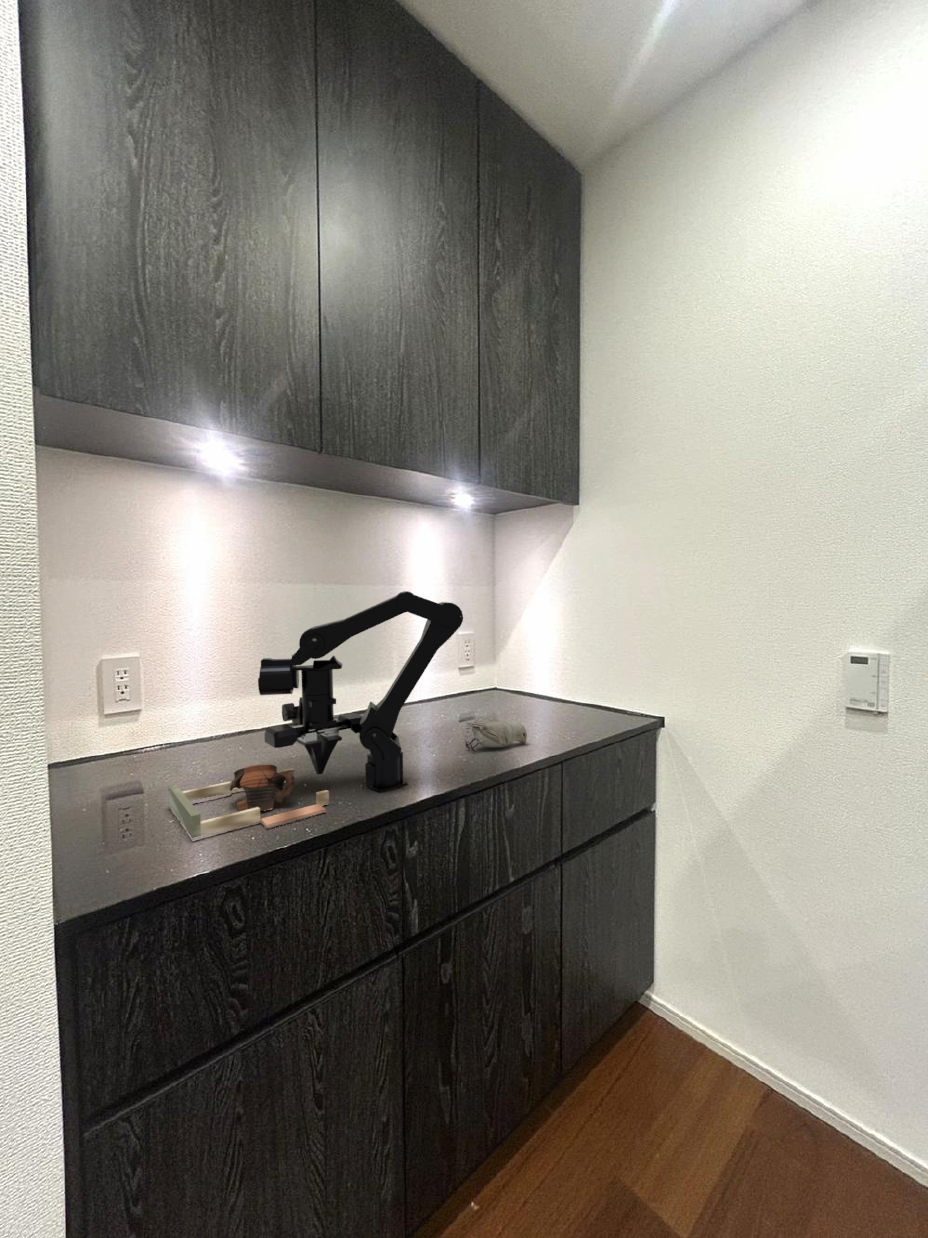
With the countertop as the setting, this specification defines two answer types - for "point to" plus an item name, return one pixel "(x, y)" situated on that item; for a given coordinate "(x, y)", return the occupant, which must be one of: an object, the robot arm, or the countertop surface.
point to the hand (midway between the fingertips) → (319, 773)
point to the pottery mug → (262, 786)
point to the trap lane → (197, 828)
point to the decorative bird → (497, 733)
